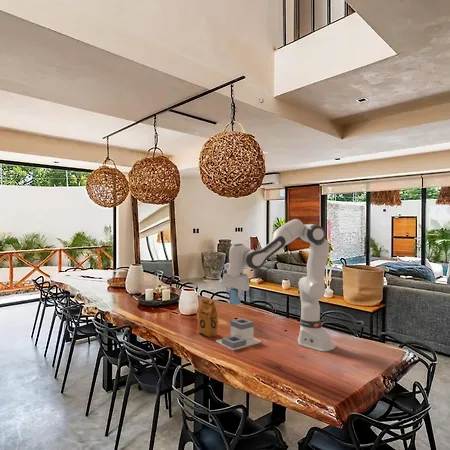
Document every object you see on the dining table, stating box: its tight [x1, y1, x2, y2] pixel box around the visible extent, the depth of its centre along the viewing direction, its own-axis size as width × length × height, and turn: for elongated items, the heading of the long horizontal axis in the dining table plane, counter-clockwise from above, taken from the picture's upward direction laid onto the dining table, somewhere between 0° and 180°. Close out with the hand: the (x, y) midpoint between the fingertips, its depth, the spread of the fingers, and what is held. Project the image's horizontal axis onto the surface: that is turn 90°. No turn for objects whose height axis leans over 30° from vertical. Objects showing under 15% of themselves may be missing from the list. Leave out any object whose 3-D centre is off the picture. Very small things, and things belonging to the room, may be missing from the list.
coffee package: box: [197, 298, 219, 338], centre depth 217 cm, size 10×12×22 cm
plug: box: [229, 288, 242, 306], centre depth 198 cm, size 4×4×9 cm
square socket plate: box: [215, 317, 262, 351], centre depth 204 cm, size 16×22×11 cm
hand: (235, 295), depth 198 cm, fingers closed on plug, 4 cm apart
